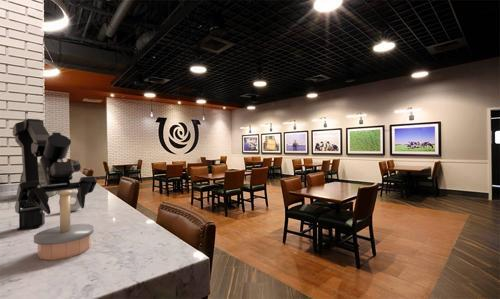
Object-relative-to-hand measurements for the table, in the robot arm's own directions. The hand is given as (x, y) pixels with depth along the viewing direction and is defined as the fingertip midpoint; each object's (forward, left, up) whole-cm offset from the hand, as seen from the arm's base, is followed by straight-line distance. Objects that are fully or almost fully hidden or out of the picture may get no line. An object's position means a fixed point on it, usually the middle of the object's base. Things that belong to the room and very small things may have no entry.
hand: (66, 210), depth 72 cm
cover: (-1, +1, -8) cm, 8 cm away
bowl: (-1, +1, -12) cm, 12 cm away
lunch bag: (-40, +112, -12) cm, 120 cm away
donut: (-11, +55, -12) cm, 58 cm away
